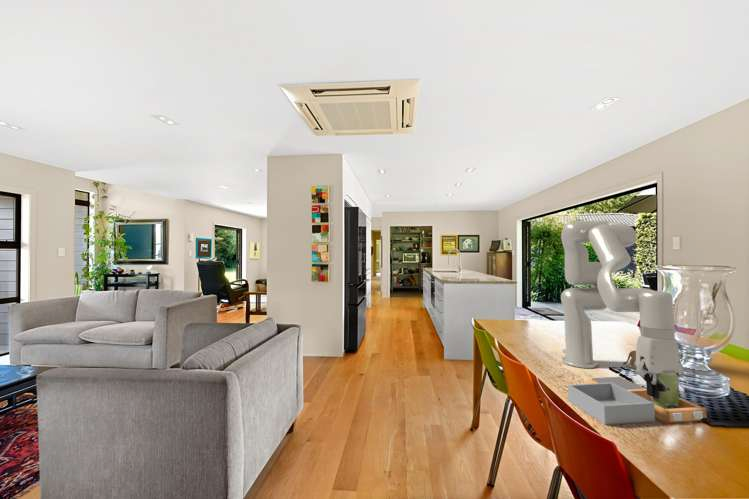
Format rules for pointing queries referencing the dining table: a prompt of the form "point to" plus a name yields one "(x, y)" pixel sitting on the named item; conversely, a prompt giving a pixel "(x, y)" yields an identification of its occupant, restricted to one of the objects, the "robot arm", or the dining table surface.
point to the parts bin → (611, 403)
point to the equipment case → (681, 414)
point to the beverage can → (667, 390)
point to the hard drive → (641, 382)
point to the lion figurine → (633, 360)
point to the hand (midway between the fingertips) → (660, 395)
